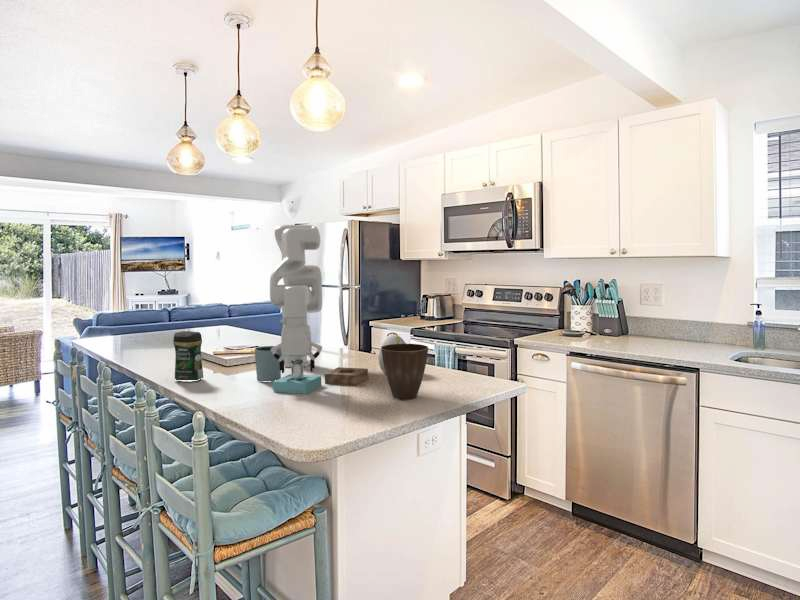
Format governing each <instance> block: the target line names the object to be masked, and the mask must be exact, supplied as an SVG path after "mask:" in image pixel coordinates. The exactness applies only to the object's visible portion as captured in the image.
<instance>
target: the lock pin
mask: <svg viewBox="0 0 800 600" xmlns="http://www.w3.org/2000/svg"><path fill="white" fill-rule="evenodd" d="M290 368H291V369H290V370H291V372H290V373H291V374H292V380H295V381H302V380H304V376H303V375H304V366H303V359H293V360H291V367H290Z"/></svg>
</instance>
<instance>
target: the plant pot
mask: <svg viewBox="0 0 800 600" xmlns="http://www.w3.org/2000/svg"><path fill="white" fill-rule="evenodd" d="M380 348H381V351H382V357H383V363H384V368H385V372H386V374H385V376H386V380H387V383H388V386H389V389H390V392H391V395H392V397H393V398H394V399H396V400H402V401H403V400H404V401H405V400H407V401H408V400H414V399H416V398H417V397H418V393H419V391H420V388H421V384H422V381H423V377H424V374H425V371H426V365H427V360H428V353H429V346H428V345H425V344H418V343H417V344H416V343H406V344H391V345H385V346H382V347H381V346H380Z"/></svg>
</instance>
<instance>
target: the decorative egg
mask: <svg viewBox="0 0 800 600" xmlns="http://www.w3.org/2000/svg"><path fill="white" fill-rule="evenodd" d="M391 344H407V342H406V341H405V340H404V339H403V338H402V337H401V336H400V335H398V334H391V335H388V336H387V337H386V338H385V339H384V340H383V342H382V344H381V346H380V348H379V352H378V364H379V367H380V370H381V371H382V372H383V374H385V375H386V372H385V368H384V363H383V357H382V351H381V347H382V346H385V345H391Z"/></svg>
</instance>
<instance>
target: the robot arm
mask: <svg viewBox="0 0 800 600" xmlns="http://www.w3.org/2000/svg"><path fill="white" fill-rule="evenodd" d="M274 238H275V241H276V243H277V246H278V248H279V250H280V253H281V262H280V263H279V264H278V265H277V266H276V267H275V269H273V270H272V272H271V275H270V279H269V299H270V303H271V304H272V305H273V306H276V307H280V308H281V315H282V318H281V319H280V320H279V322H280V324H282V329H281V333H280V334H281V335H280V338H281V339H280V343H277V345H274V346H275V347H273V348H271V352H272V353H273V355H274V357H275V358H276V359H277V360H278V361H279V364H280V370H281V374H284V373H285V368H291V360H293V359H303V367H306V366H305V365H308V366H310V368H309V370H310V372H311V373H313V371H314V369H315V367H316V366H315V363H316V362H315V360H317V358H318V357H319V356H320V354H321V351H322V350H323V346H322V345H320V344H318V343H315V342H313V341H312V333H311V329H310V328H311V327H310V325H308V314H314V313H315V314H317V313H319V312H321V311H322V308H323V286H322V285H323V282H322V280H323V279H322V276H323V275H322V271H321V268H320V267H319V266H318V265H313V264H312V265H311V264H306V254H305V252H306V251H307V250H309V251H310V250H311V251H316V250H318V249H319V248H320V246H321V234H320V231H319V229H318V227H317V226H316V225H313V224H283V225H278V226H276V227H275V230H274ZM282 279H283V280H282ZM280 280H282V281H283V284H279V282H280ZM279 348H281V353H282V355H281V356H280V355H279V354H277V352H276V350H277V349H279ZM313 348H315V349H316V352H314V353H312V352H313V351H312V350H313ZM308 357H309V358H310V359H308ZM309 364H310V365H309ZM284 366H285V367H284Z"/></svg>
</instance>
